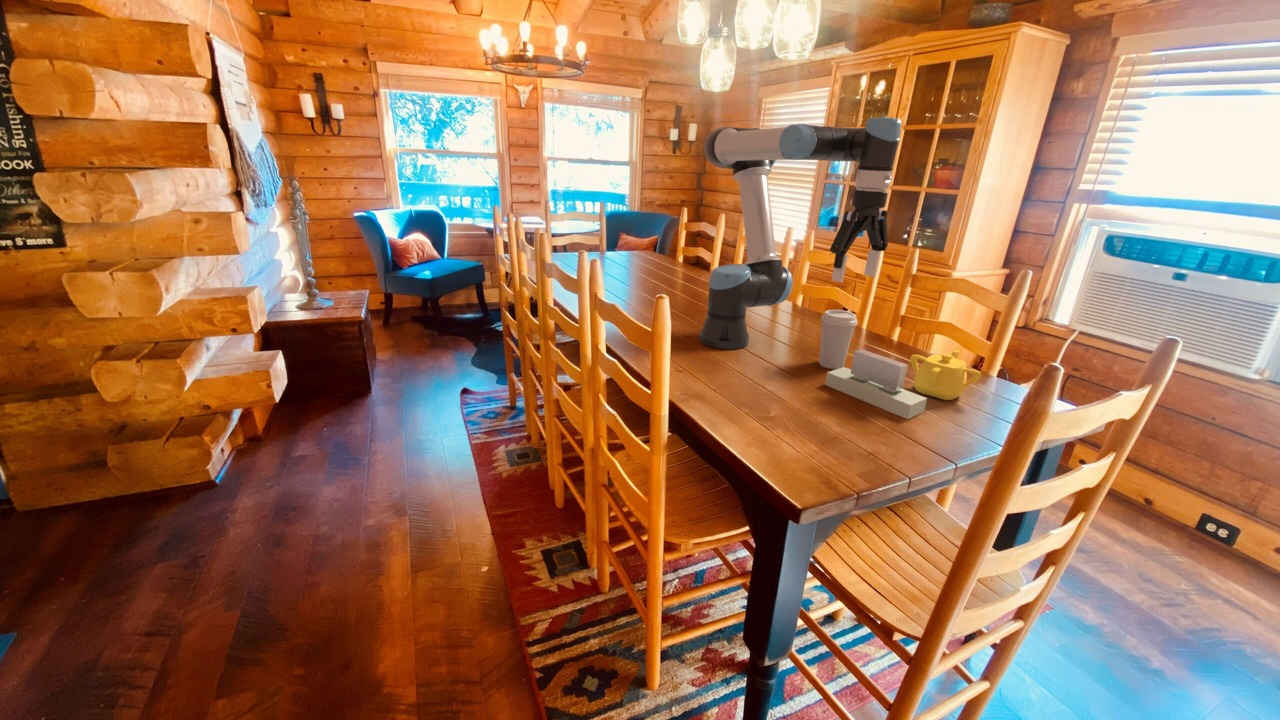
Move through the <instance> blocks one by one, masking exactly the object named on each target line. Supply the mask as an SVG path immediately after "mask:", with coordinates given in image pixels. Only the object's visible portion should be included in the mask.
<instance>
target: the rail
mask: <svg viewBox="0 0 1280 720" xmlns="http://www.w3.org/2000/svg"><path fill="white" fill-rule="evenodd" d="M850 373H851V368H848V367H846V366H843V368H839V369H832V370H831V371H828V372H827V373H826V379H825V386H827V387H829V388H831V389H834V390H836V391H839V392H841V393H844V394H846V395H849V396H850V397H853V398H856V399H858V400H860V401H863V402H865V403H868V404H869V405H872V406H874V407H877V408H880V409H881V410H884V411H887V412H889V413H891V414H894V415H896V416H899V417H902V418H904V419H906V420H909V419H911V418H913V417H915V416H918V415H920V414H922V413H924V412H925V409H926V406H927V401H928V397H925V396H923V395H920V394H917V393H915V392H912V391H909V390H906V389H904V388H903V389H900V390H898V393H897V394H896V395H894V396H893V395H891V394H888V393H886V392H883V387H884V386H881V385H879V384H876V383H873V382H871V381H868V380H867V382H865V383H860V382H858V381H855V380H853V376H854V375H853V374H850Z"/></svg>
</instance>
